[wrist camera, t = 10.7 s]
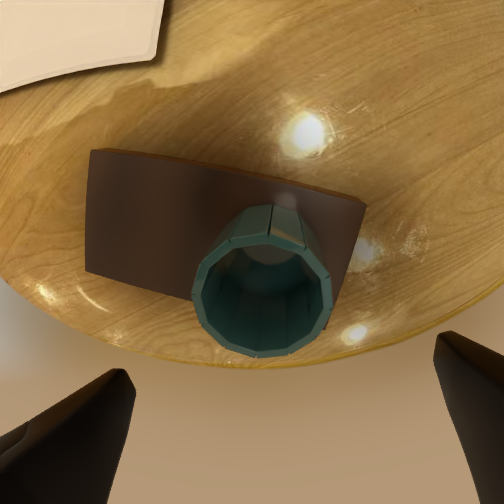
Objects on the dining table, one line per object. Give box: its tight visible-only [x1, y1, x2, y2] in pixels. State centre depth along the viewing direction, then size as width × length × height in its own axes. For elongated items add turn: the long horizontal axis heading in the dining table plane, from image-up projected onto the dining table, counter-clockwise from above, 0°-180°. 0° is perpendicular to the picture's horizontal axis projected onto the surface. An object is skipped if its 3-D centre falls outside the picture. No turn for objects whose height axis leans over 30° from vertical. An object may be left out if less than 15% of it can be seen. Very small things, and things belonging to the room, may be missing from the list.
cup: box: [191, 204, 333, 358], centre depth 14 cm, size 5×5×6 cm
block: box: [85, 148, 367, 330], centre depth 18 cm, size 16×8×2 cm, turn 78°
